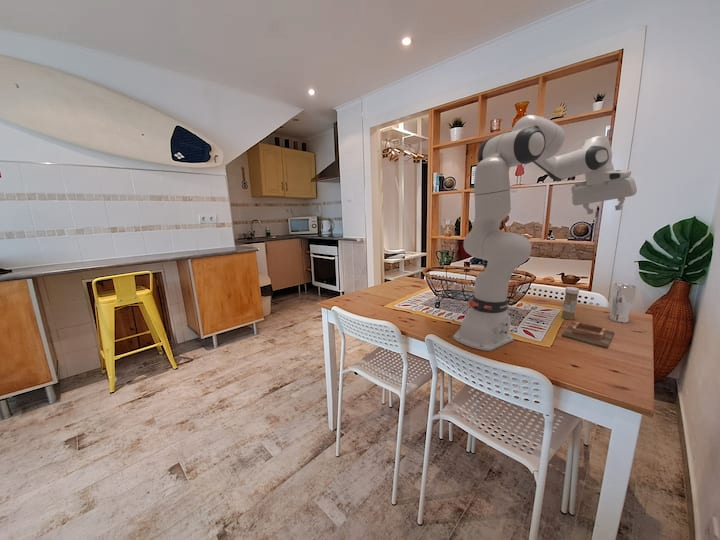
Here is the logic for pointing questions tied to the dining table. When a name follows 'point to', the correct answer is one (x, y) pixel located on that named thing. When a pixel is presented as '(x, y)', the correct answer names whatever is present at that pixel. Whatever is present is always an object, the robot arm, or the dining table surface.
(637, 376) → the dining table surface
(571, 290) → the sprinkles bottle
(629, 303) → the beer glass
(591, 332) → the tube stand
